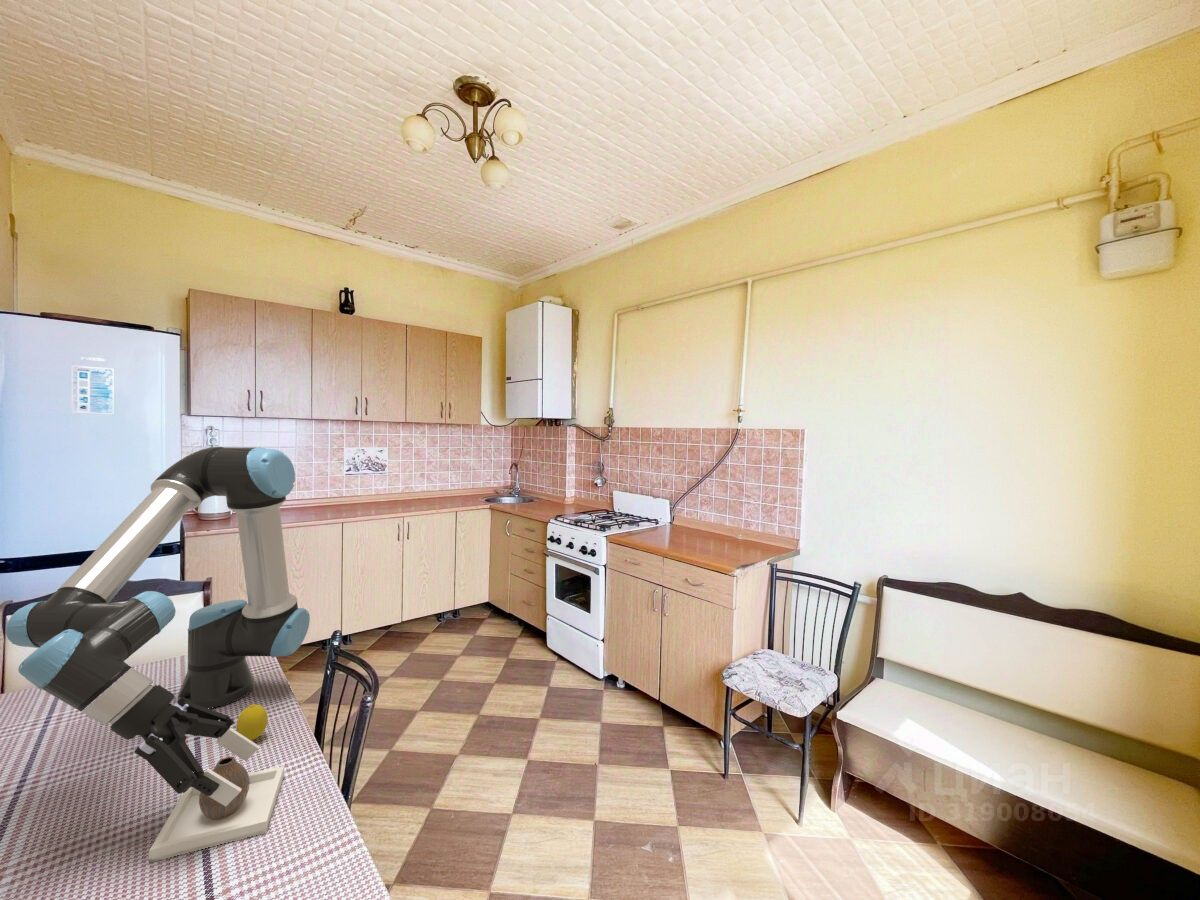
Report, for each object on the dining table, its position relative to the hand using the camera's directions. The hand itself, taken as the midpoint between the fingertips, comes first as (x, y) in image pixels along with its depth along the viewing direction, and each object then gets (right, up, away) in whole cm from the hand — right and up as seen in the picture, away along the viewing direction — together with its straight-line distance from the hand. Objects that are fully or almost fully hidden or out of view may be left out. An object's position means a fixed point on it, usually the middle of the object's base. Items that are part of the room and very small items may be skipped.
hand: (244, 774), depth 84 cm
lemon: (-13, -6, +19) cm, 24 cm away
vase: (-3, -6, -1) cm, 6 cm away
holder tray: (-3, -6, -1) cm, 7 cm away
